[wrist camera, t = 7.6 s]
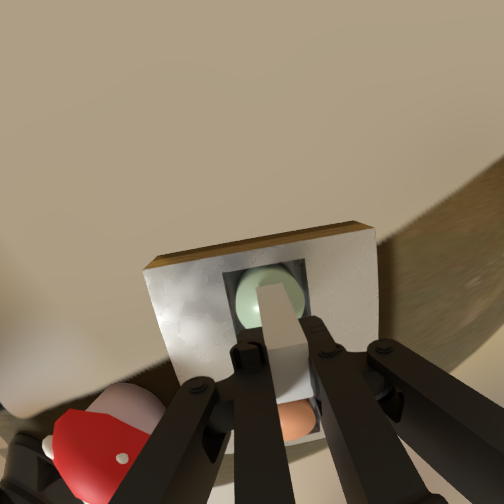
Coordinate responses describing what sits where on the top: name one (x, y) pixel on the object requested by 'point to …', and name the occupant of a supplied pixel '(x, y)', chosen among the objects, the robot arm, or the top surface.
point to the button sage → (262, 277)
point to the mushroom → (103, 440)
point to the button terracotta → (296, 418)
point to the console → (224, 295)
